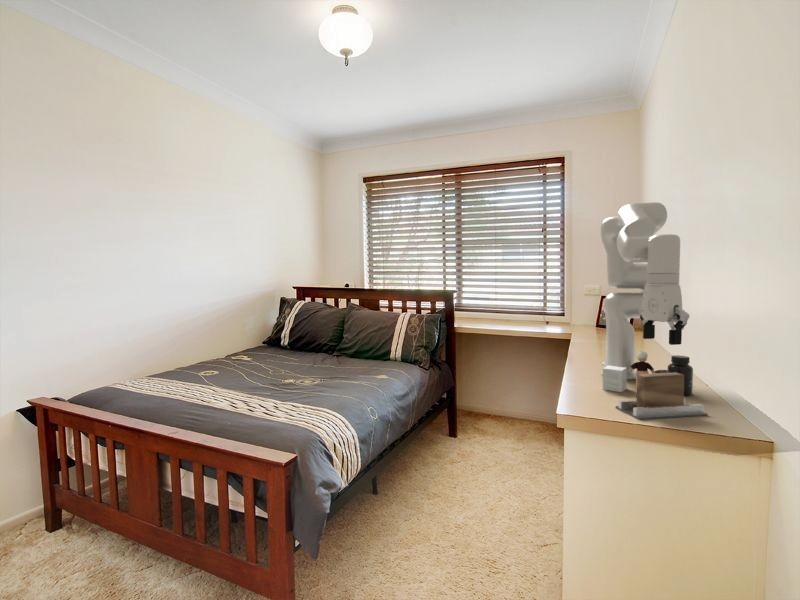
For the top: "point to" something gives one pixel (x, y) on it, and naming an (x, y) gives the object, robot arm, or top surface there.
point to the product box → (614, 378)
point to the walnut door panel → (660, 389)
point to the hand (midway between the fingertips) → (661, 341)
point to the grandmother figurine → (641, 365)
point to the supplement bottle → (682, 371)
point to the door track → (661, 410)
